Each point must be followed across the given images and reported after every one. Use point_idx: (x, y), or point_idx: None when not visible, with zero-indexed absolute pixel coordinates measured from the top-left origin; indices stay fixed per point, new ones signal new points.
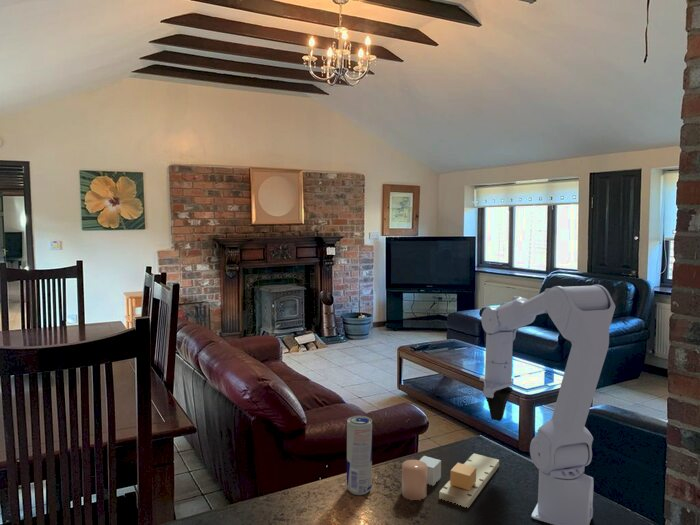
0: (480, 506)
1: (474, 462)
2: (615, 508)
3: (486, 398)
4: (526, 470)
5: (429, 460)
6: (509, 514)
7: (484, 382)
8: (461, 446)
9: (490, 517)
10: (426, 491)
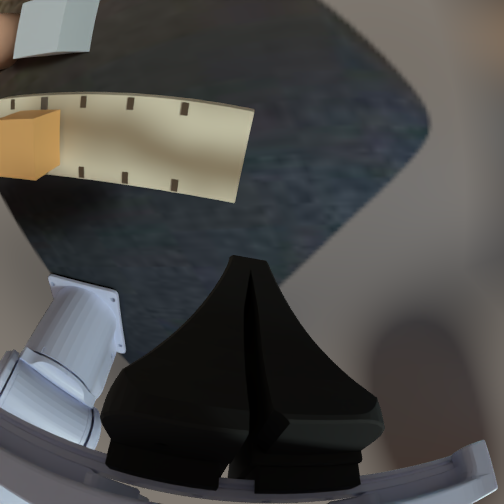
0: (27, 183)
1: (177, 127)
2: None
3: (159, 345)
4: None
5: (45, 22)
6: (38, 238)
7: (24, 498)
8: (349, 61)
9: (12, 208)
10: (3, 67)
